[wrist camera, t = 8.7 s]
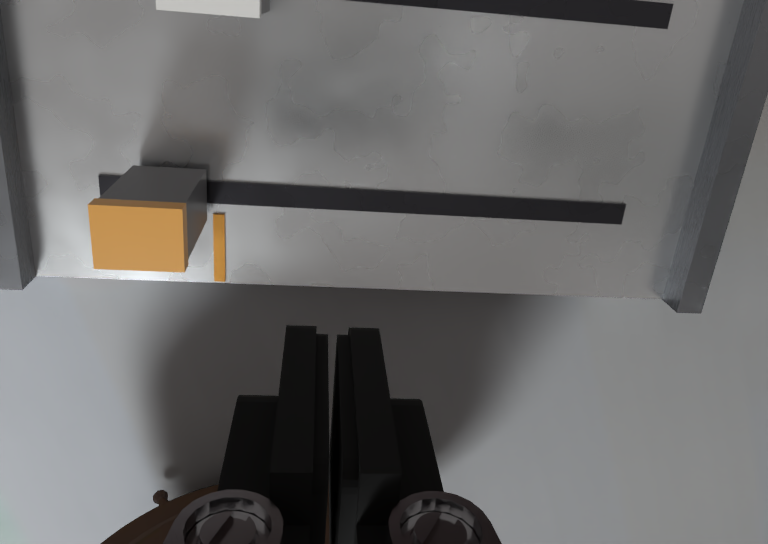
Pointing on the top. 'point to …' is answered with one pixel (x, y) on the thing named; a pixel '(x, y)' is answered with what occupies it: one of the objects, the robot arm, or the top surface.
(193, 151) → the console
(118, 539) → the alarm clock
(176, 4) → the fader cap
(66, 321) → the top surface
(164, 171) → the fader cap
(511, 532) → the top surface
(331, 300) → the top surface
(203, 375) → the top surface
